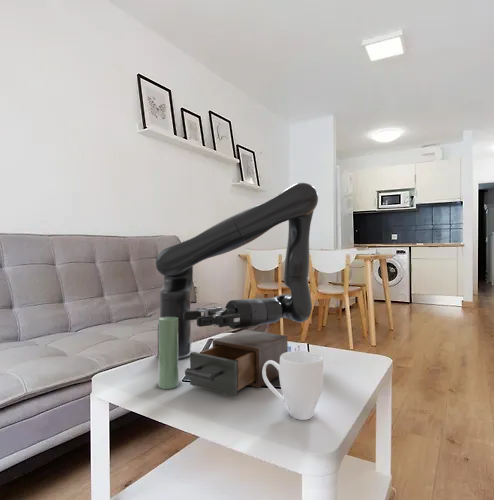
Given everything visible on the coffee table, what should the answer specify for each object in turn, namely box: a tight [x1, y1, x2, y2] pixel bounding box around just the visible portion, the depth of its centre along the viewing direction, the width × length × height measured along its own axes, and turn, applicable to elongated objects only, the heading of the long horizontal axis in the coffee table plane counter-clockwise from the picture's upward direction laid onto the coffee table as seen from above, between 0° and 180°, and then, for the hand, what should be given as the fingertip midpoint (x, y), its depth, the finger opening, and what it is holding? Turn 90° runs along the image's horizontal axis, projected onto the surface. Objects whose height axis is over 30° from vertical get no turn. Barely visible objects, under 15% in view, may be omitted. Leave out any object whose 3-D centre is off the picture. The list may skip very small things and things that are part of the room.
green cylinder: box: [158, 317, 179, 390], centre depth 86 cm, size 5×5×16 cm
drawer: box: [184, 345, 256, 398], centre depth 85 cm, size 18×13×7 cm
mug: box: [262, 350, 324, 421], centre depth 72 cm, size 12×8×11 cm
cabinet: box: [212, 329, 289, 389], centre depth 95 cm, size 15×14×9 cm
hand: (190, 319), depth 89 cm, fingers open, 8 cm apart
